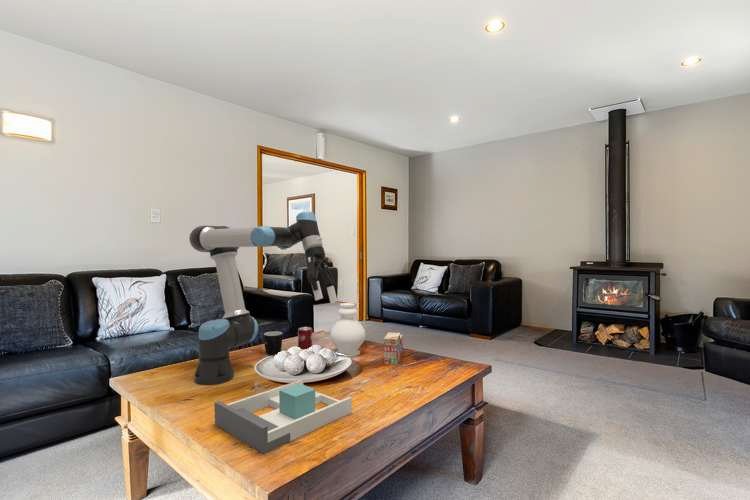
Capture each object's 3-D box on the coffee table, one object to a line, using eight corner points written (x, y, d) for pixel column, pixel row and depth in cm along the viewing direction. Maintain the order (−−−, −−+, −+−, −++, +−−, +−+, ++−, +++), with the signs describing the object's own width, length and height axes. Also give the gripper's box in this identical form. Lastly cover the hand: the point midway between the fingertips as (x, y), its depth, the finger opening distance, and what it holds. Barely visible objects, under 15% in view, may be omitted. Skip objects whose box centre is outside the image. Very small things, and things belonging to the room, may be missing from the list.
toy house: (390, 351, 204) (391, 328, 204) (403, 352, 203) (403, 328, 203) (383, 364, 183) (383, 338, 183) (397, 365, 182) (397, 338, 182)
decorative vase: (355, 360, 190) (355, 307, 189) (323, 355, 197) (323, 305, 196) (371, 350, 206) (371, 302, 205) (340, 346, 213) (340, 300, 212)
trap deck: (301, 392, 149) (301, 374, 149) (351, 412, 132) (351, 391, 132) (214, 424, 123) (214, 402, 123) (262, 454, 106) (262, 428, 106)
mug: (263, 351, 203) (263, 332, 203) (281, 350, 206) (281, 330, 206) (264, 358, 192) (264, 337, 191) (283, 356, 194) (283, 336, 194)
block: (299, 404, 132) (299, 383, 132) (315, 411, 127) (315, 389, 127) (279, 412, 126) (279, 390, 126) (295, 419, 121) (295, 396, 121)
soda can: (300, 354, 199) (300, 330, 198) (296, 350, 205) (296, 327, 205) (314, 352, 202) (314, 329, 202) (309, 349, 208) (309, 326, 208)
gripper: (307, 237, 142) (321, 294, 136) (335, 252, 165) (348, 300, 159) (289, 245, 144) (302, 301, 138) (319, 258, 167) (331, 306, 161)
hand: (327, 301), depth 148 cm, fingers open, 13 cm apart
